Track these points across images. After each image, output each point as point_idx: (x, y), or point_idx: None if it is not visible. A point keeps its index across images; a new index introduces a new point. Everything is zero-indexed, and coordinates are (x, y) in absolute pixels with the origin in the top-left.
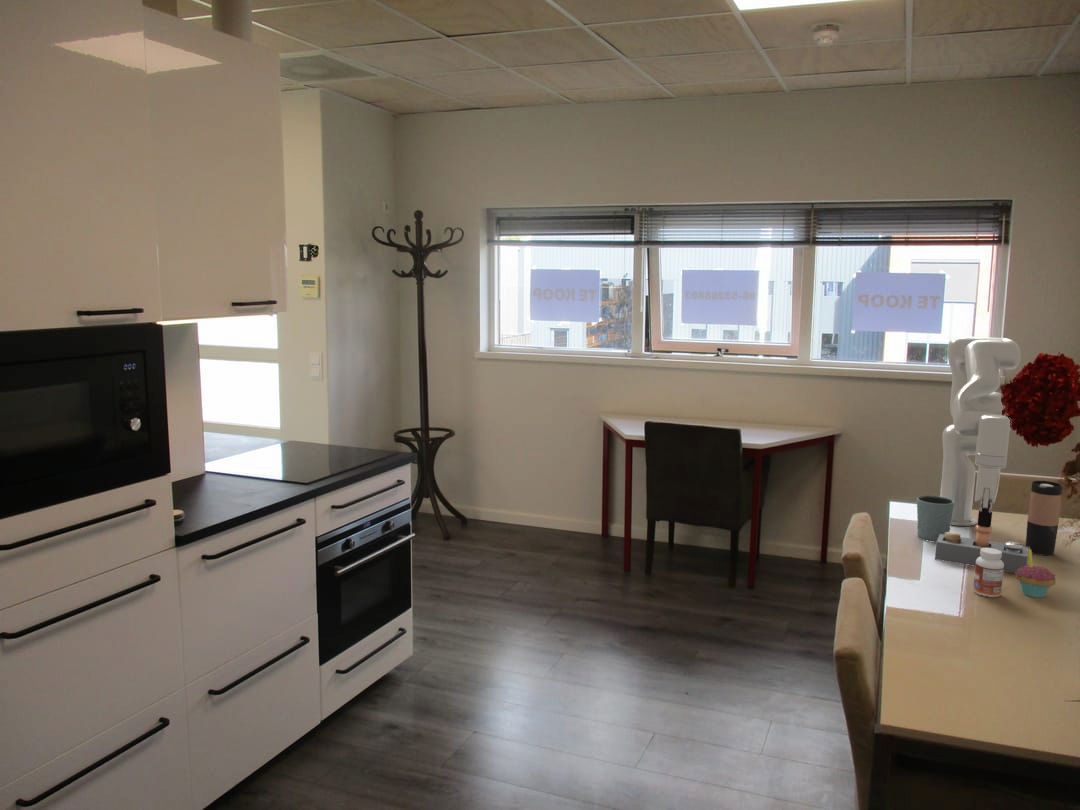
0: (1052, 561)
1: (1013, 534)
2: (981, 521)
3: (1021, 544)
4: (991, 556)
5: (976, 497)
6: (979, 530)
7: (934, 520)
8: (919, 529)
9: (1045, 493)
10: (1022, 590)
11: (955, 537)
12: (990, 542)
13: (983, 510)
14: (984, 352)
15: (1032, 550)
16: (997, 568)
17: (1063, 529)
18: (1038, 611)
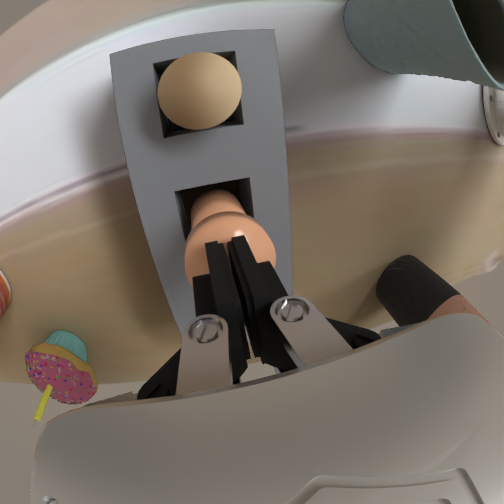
0: (339, 317)
1: (472, 213)
2: (194, 283)
3: (248, 341)
4: None
5: (32, 467)
6: (185, 246)
7: (392, 9)
8: None
9: None
10: (50, 335)
11: (166, 114)
12: (276, 235)
13: (177, 363)
14: None
15: (385, 277)
16: None
17: (491, 266)
18: (11, 355)
